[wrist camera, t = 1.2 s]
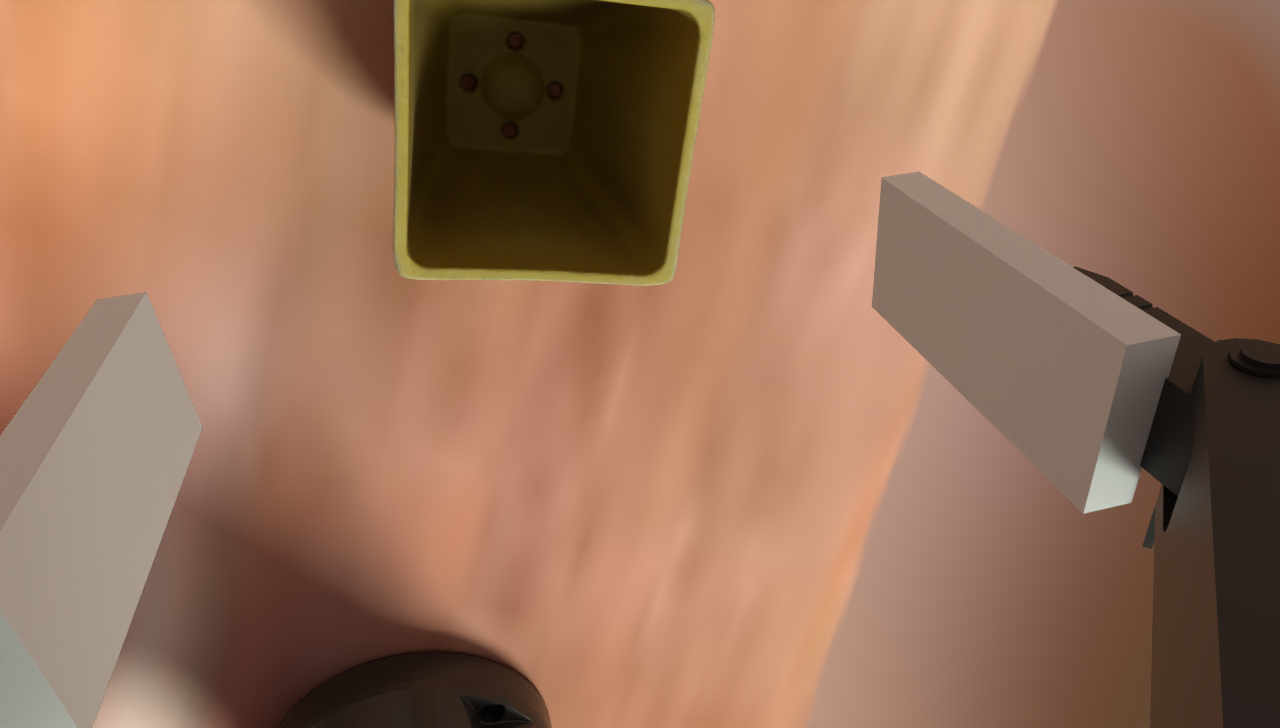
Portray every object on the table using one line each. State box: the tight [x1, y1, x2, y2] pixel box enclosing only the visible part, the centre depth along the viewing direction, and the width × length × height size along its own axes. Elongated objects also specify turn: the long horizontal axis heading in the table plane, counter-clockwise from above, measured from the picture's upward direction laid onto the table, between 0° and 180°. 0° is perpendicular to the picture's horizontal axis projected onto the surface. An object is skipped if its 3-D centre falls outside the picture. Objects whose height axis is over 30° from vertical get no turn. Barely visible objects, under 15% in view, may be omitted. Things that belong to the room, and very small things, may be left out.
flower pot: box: [393, 0, 715, 286], centre depth 28 cm, size 9×9×9 cm
